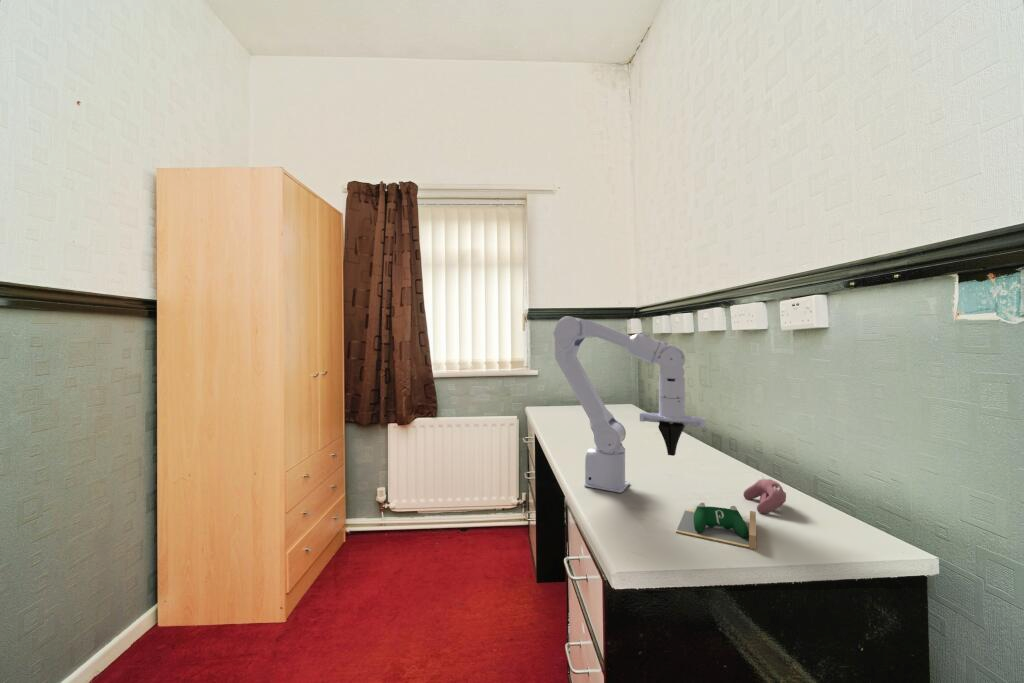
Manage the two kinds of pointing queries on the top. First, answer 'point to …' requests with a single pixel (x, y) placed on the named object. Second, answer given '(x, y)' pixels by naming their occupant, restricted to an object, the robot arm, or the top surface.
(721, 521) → the gaming controller
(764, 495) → the video game controller
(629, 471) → the top surface
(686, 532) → the tray
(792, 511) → the top surface
